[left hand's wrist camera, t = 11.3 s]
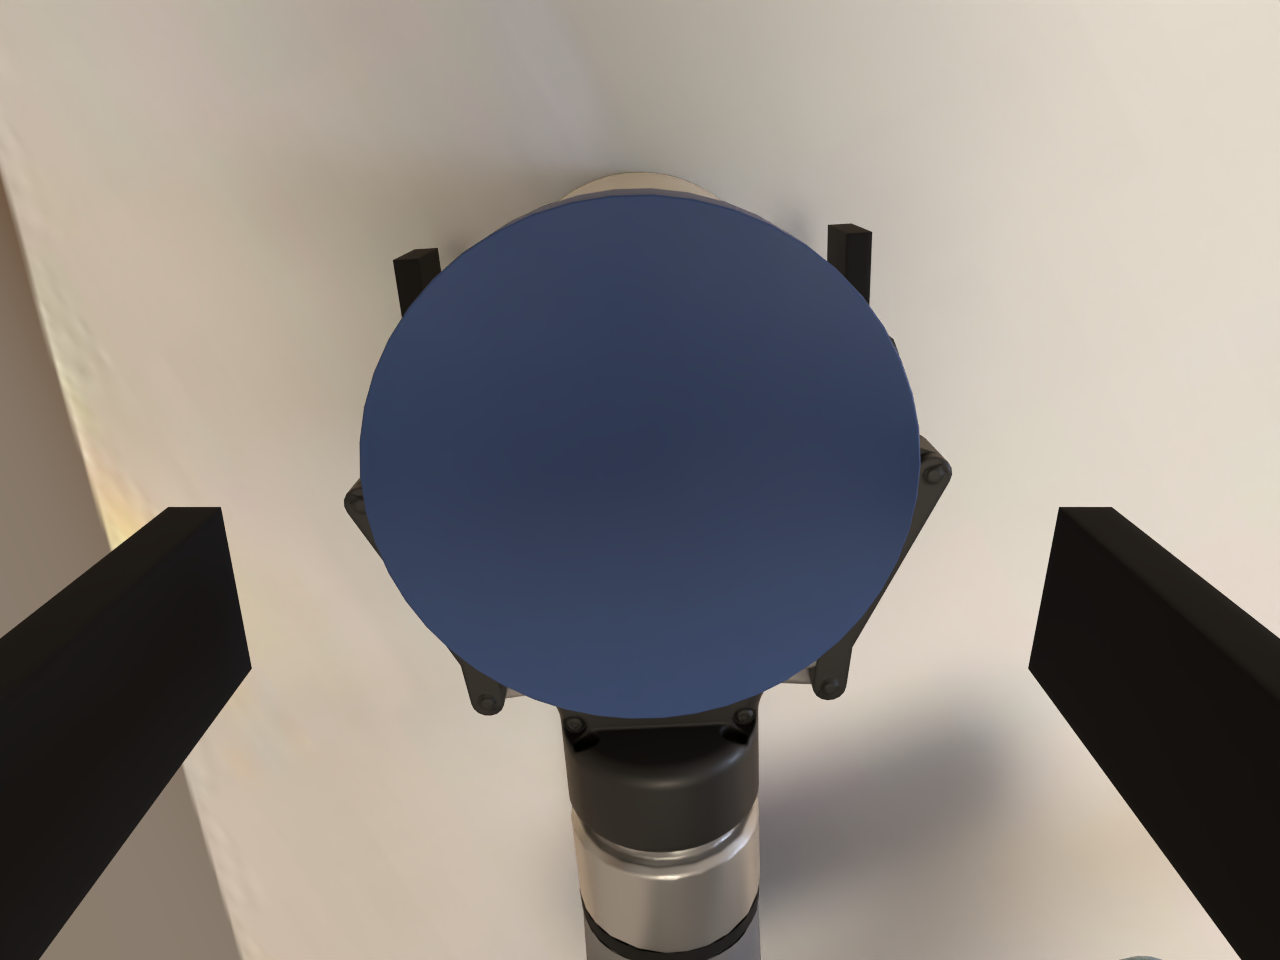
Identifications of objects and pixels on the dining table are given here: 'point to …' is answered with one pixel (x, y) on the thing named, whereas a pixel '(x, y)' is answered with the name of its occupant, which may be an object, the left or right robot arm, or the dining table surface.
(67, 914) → the left robot arm
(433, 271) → the right robot arm
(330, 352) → the dining table surface
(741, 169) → the dining table surface
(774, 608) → the lid
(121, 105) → the dining table surface
